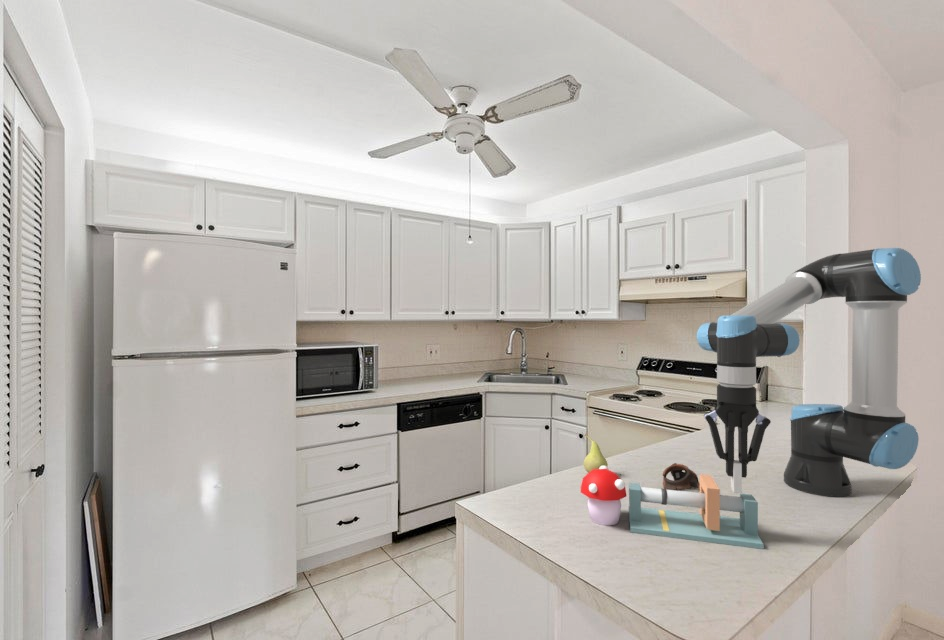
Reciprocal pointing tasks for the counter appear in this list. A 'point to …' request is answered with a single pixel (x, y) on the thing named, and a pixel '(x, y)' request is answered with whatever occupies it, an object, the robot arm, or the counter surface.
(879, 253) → the robot arm
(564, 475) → the counter surface
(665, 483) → the pottery mug
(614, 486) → the mushroom
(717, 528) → the peach rectangular collar
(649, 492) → the pipe rig
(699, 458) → the counter surface
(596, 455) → the fruit
